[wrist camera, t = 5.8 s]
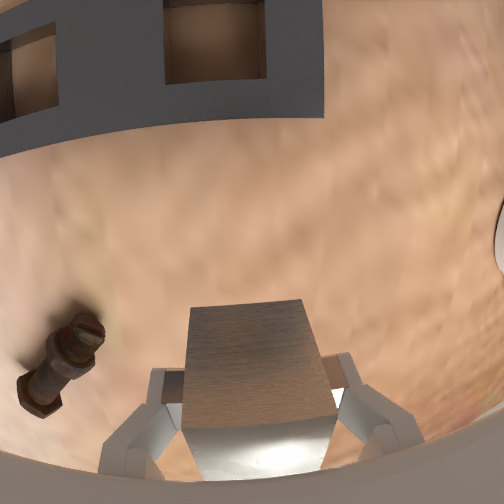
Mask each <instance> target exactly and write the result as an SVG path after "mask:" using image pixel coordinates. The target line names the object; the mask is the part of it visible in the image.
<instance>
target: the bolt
mask: <svg viewBox="0 0 504 504" xmlns="http://www.w3.org/2000/svg"><path fill="white" fill-rule="evenodd" d="M104 338H105V329H104V327H103V325H102V324H101V323H100V322H99V321H98V320H97V319H95V318H94V317H92V316H90V315H87V314H78V315H76V316H75V318H74V319H73V321H72V322H71V323H70V325H69V326H68V327H66V328H62V329H59V330H57V331H55V332H54V333H52V334H50V336H49V337H48V339H47V340H46V351H47V357H46V358H45V360H44V361H43V363H42V364H41V366H40V367H39V368H38V370H36V369H34V370H32V371H30V372H28V373H26V374H24V375H22V376H20V377H19V378H18V380H17V393H18V399H19V402H20V405H21V406H22V407H23V408H24V409H25V410H27V411H28V412H30V413H31V414H33V415H35V416H37V417H39V418H42V419H44V418H46V417H48V416H49V415H51V414H53V413H54V412H55V411H57V410H58V409H59V408H60V407H61V406H62V405H63V404H62V400H61V396H60V391H61V390H62V389H63V388H64V387H65V386H66V384H67V383H68V382H69V381H70V380H71V379H73V380H74V379H77V378H79V377H81V376H82V375H84V374H85V373H87V372H88V371H90V370H91V369H92V368H93V367H94V365H95V355H94V353H95V351H96V350H97V349H98V348H99V347H100V346H101V345H102V344H103V343H104V341H105V339H104Z"/></svg>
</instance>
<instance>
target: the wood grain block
mask: <svg viewBox="0 0 504 504" xmlns="http://www.w3.org/2000/svg"><path fill="white" fill-rule="evenodd" d="M338 415H339V412H338V409H337V406H336V402H335V399H334V396H333V393H332V390H331V387H330V384H329V381H328V377H327V374H326V371H325V368H324V365H323V362H322V359H321V356H320V353H319V350H318V347H317V344H316V341H315V338H314V335H313V332H312V329H311V326H310V323H309V320H308V317H307V314H306V312H305V309H304V306H303V303H302V300H301V299H297V300H287V301H276V302H264V303H251V304H238V305H224V306H209V307H193V308H191V309H190V319H189V329H188V339H187V351H186V362H185V375H184V388H183V402H182V418H181V430H182V432H183V435H184V437H185V439H186V441H187V444H188V446H189V448H190V451H191V453H192V455H193V457H194V459H195V462H196V464H197V466H198V468H199V470H200V472H201V474H202V476H203V478H204V480H205V481H213V480H237V479H251V478H263V477H272V476H281V475H288V474H296V473H302V472H308V471H314V470H319V469H320V466H321V464H322V461H323V458H324V456H325V453H326V450H327V447H328V445H329V442H330V439H331V436H332V433H333V430H334V427H335V424H336V421H337V418H338Z"/></svg>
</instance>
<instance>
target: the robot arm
mask: <svg viewBox="0 0 504 504" xmlns="http://www.w3.org/2000/svg"><path fill="white" fill-rule="evenodd" d="M495 258H496V262H497V265H498V267H499V269H500V270H501V271H502V273H503V274H504V206H503V208H502V211H501V215H500V218H499V222H498V226H497V231H496V237H495ZM321 359H322V362H323V365H324V368H325V371H326V374H327V377H328V381H329V384H330V387H331V390H332V393H333V396H334V399H335V402H336V406H337V409H338V412H339V415H338V418H337V419H338V420H339V421H340V422H341V423H342V424H344V425H345V426H346V427H347V428H348V429H349V430H350V431H351V432H352V433H353V434H354V435H355V436H357V437H358V438H359V439H360V440H361V441H362V442H363V443H364V444H365V445H366V446H365V447H364V449H363V451H362V453H361V454H360V456H359V458H358V461H359V462H356V463H351V464H347V465H343V466H338V467H333V468H328V469H323V470H317V471H311V472H305V473H299V474H292V475H284V476H276V477H267V478H257V479H244V480H225V481H170V480H165V477H164V475H163V474H162V473H161V471H160V470H159V468H158V467H157V466H156V464H155V462H156V461H157V459H158V458H159V456H160V455H161V454H162V452H163V451H164V449H165V448H166V447H167V445H168V444H169V442H170V441H171V440H172V438H173V437H174V435H175V434H176V433H177V431H182V430H181V418H182V402H183V388H184V375H185V368H153V369H152V371H151V375H150V381H149V386H148V392H147V399H146V404H141V405H140V406H139V407H138V408H137V409H136V410H135V411H134V412H133V413H132V414H131V416H130V417H129V418H128V419H127V420H126V421H125V422H124V423H123V424H122V425H121V426H120V427H119V428H118V429H117V430H116V431H115V432H114V433H113V434H112V435H111V436H110V437H109V438H108V439H107V440H106V441H105V442H104V443H103V447H102V452H101V457H100V462H99V468H98V473H92V472H86V471H80V470H75V469H70V468H65V467H60V466H56V465H52V464H48V463H43V462H40V461H36V460H32V459H28V458H25V457H21V456H18V455H15V454H12V453H9V452H5V451H2V450H0V504H504V408H502V409H500V410H498V411H496V412H494V413H492V414H490V415H488V416H486V417H484V418H482V419H480V420H478V421H475V422H473V423H471V424H469V425H466V426H464V427H462V428H459V429H457V430H455V431H452V432H450V433H447V434H445V435H442V436H440V437H437V438H434V439H432V440H429V441H426V442H425V440H424V438H423V436H422V434H421V431H420V429H419V427H418V425H417V423H416V420H415V418H414V416H413V415H412V414H410V413H409V412H407V411H406V410H404V409H403V408H401V407H400V406H398V405H397V404H395V403H394V402H392V401H391V400H389V399H388V398H386V397H385V396H384V395H382V394H381V393H379V392H378V391H376V390H375V389H373V388H372V387H370V386H369V385H367V384H366V385H363V383H362V380H361V378H360V376H359V373H358V371H357V368H356V366H355V364H354V361H353V359H352V357H351V354H350V353H349V352H347V353H340V354H332V355H326V356H321Z"/></svg>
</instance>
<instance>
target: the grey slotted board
mask: <svg viewBox="0 0 504 504" xmlns="http://www.w3.org/2000/svg"><path fill="white" fill-rule="evenodd" d="M225 3H257V9H258V41H259V78H260V79H239V80H218V81H203V82H191V83H181V84H172V75H171V50H170V8H174V7H183V6H193V5H206V4H225ZM53 34H56V66H57V85H58V98H59V106H55V107H52V108H48V109H44V110H41V111H38V112H34V113H31V114H28V115H24V116H21V117H18V118H15V111H14V100H13V87H12V64H11V50H14V49H16V48H19V47H21V46H23V45H26V44H29V43H31V42H34V41H36V40H39V39H42V38H45V37H47V36H50V35H53ZM247 118H324V43H323V15H322V0H30V1H28V2H26V3H23V4H21V5H19V6H17V7H14V8H12V9H10V10H8V11H6V12H4V13H2V14H0V158H2V157H5V156H9V155H12V154H16V153H19V152H23V151H27V150H31V149H35V148H39V147H43V146H47V145H51V144H55V143H60V142H64V141H69V140H73V139H78V138H83V137H88V136H94V135H99V134H105V133H111V132H117V131H123V130H129V129H136V128H143V127H151V126H159V125H168V124H177V123H187V122H198V121H211V120H227V119H247Z"/></svg>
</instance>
